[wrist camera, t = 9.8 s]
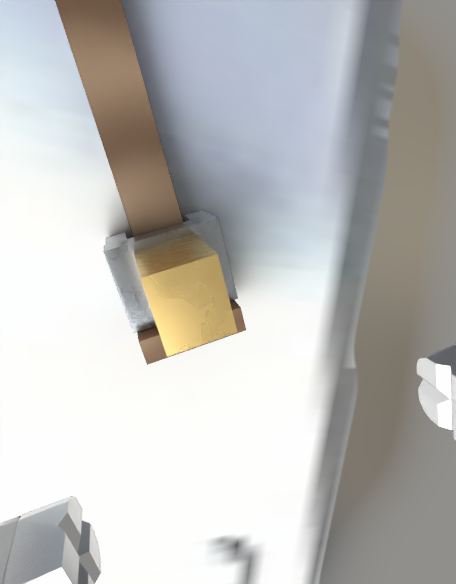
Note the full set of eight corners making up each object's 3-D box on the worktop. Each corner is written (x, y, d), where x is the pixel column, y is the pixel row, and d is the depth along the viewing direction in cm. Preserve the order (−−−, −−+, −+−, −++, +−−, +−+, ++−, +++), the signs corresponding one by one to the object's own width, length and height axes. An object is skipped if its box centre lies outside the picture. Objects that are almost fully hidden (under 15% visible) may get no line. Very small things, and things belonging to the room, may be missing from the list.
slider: (104, 238, 25) (102, 277, 17) (203, 209, 26) (245, 233, 18) (130, 311, 27) (140, 376, 19) (222, 281, 28) (267, 331, 20)
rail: (-22, -125, 19) (-63, -214, 14) (107, -143, 20) (108, -231, 15) (140, 329, 28) (147, 364, 23) (223, 301, 29) (246, 329, 24)
